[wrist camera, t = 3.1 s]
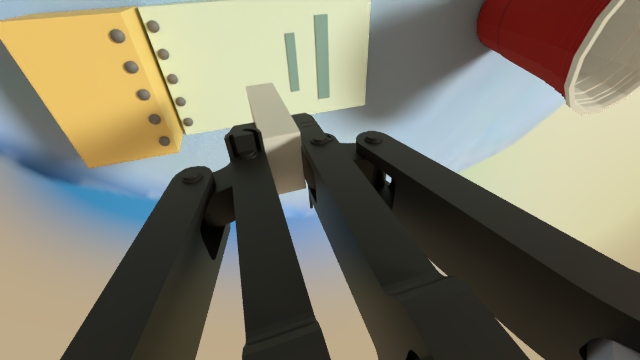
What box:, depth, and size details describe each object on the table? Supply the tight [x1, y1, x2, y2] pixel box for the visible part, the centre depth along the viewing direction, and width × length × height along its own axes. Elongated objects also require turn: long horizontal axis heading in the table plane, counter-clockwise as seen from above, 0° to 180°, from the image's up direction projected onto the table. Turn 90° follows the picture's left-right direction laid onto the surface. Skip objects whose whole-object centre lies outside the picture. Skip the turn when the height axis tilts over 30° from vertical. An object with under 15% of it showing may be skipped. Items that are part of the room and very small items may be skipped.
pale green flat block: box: [138, 0, 371, 135], centre depth 22 cm, size 9×16×2 cm, turn 93°
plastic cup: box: [477, 0, 640, 115], centre depth 22 cm, size 11×11×12 cm
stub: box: [0, 6, 184, 168], centre depth 19 cm, size 9×6×4 cm, turn 3°
